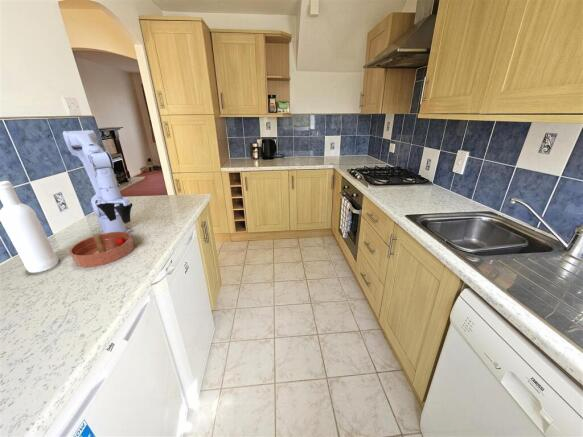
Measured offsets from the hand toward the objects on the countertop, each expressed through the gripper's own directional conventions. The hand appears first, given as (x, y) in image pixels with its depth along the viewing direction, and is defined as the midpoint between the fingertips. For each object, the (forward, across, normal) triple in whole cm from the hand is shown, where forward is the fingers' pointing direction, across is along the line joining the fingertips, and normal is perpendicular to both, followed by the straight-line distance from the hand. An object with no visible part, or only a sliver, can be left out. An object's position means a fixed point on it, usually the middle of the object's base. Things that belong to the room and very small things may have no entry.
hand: (120, 221), depth 93 cm
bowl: (+10, -1, -8) cm, 13 cm away
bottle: (+11, -14, -21) cm, 27 cm away
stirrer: (+10, -1, -9) cm, 13 cm away
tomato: (+8, -2, -2) cm, 9 cm away
